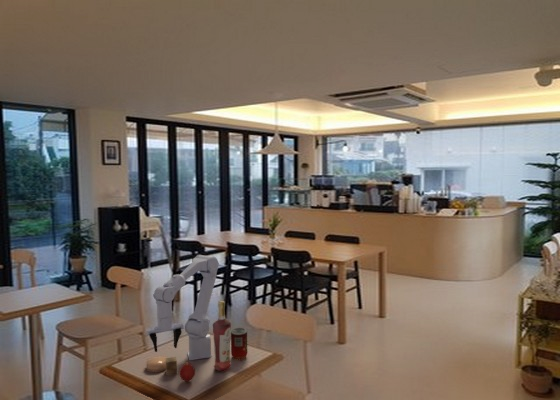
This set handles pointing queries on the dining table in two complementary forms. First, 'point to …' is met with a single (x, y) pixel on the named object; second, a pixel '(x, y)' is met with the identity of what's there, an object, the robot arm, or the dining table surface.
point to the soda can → (239, 343)
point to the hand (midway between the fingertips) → (165, 349)
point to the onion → (187, 372)
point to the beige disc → (156, 364)
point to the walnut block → (171, 366)
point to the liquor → (222, 340)
